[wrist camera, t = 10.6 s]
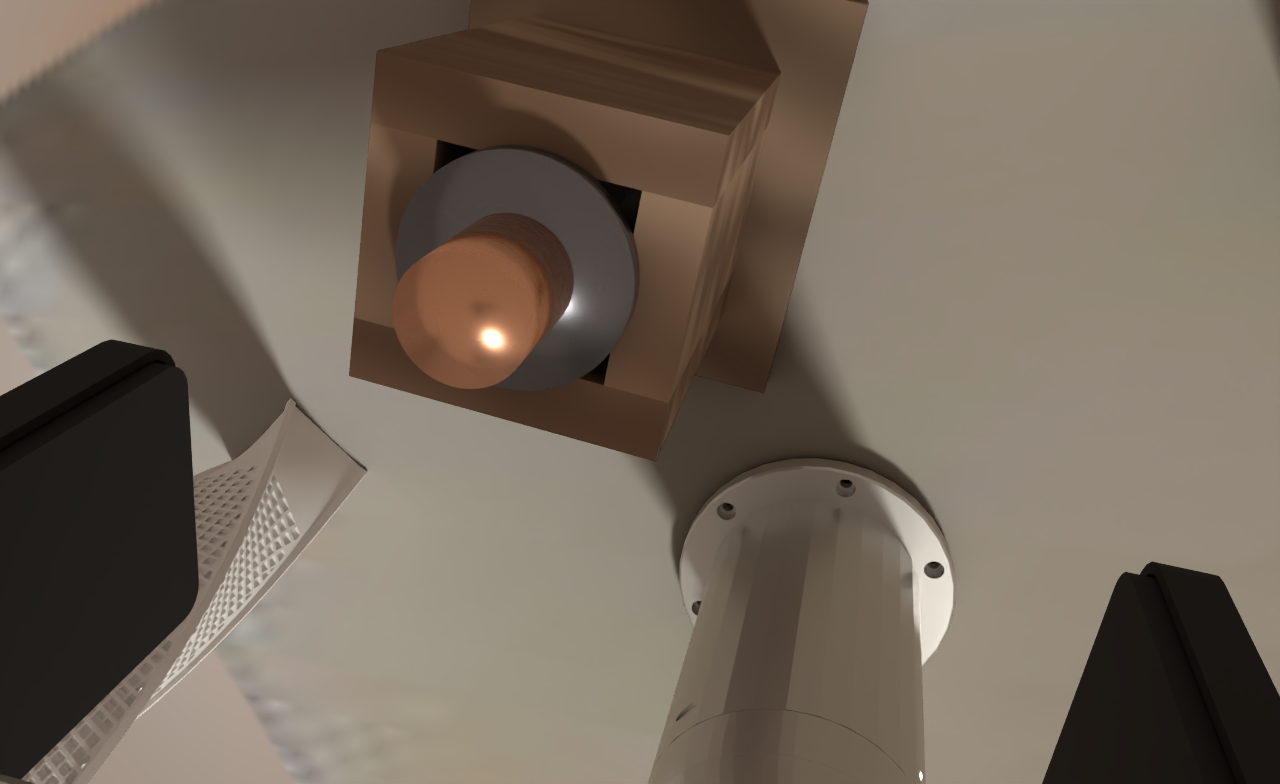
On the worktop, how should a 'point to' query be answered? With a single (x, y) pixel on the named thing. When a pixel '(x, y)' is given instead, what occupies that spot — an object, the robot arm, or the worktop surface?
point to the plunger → (515, 270)
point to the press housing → (625, 180)
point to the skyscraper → (222, 571)
